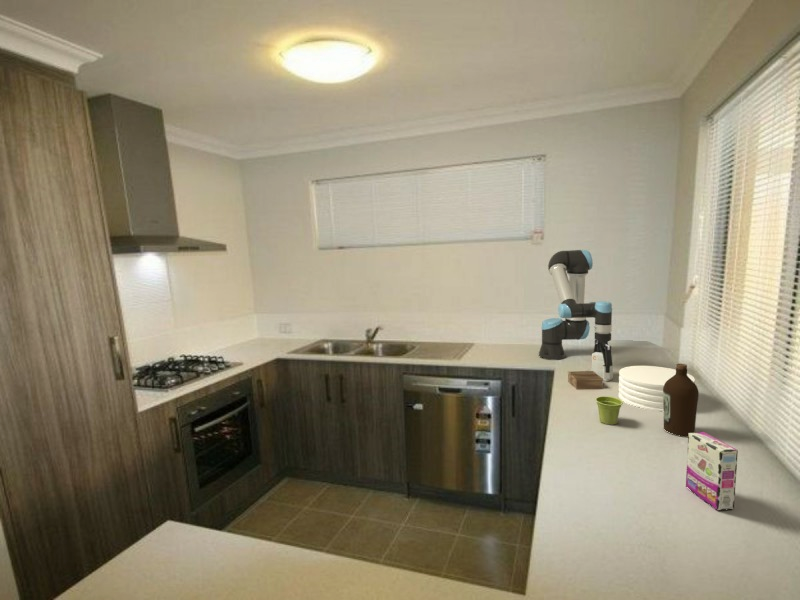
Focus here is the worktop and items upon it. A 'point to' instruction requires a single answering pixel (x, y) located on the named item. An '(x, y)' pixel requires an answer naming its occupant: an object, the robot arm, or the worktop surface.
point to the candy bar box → (711, 470)
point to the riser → (585, 380)
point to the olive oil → (680, 403)
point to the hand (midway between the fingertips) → (602, 375)
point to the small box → (600, 365)
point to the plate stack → (644, 385)
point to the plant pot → (608, 409)
